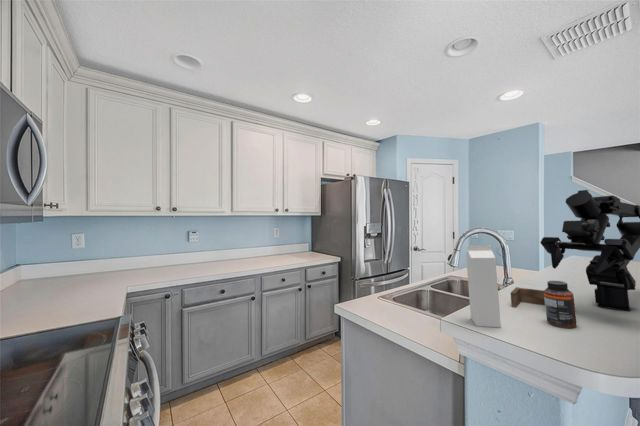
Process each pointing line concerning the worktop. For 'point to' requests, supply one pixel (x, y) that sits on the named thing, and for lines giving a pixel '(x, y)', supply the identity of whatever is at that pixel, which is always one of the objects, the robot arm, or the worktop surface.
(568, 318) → the supplement bottle
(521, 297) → the u-shaped wooden frame
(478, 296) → the milk
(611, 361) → the worktop surface
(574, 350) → the worktop surface
